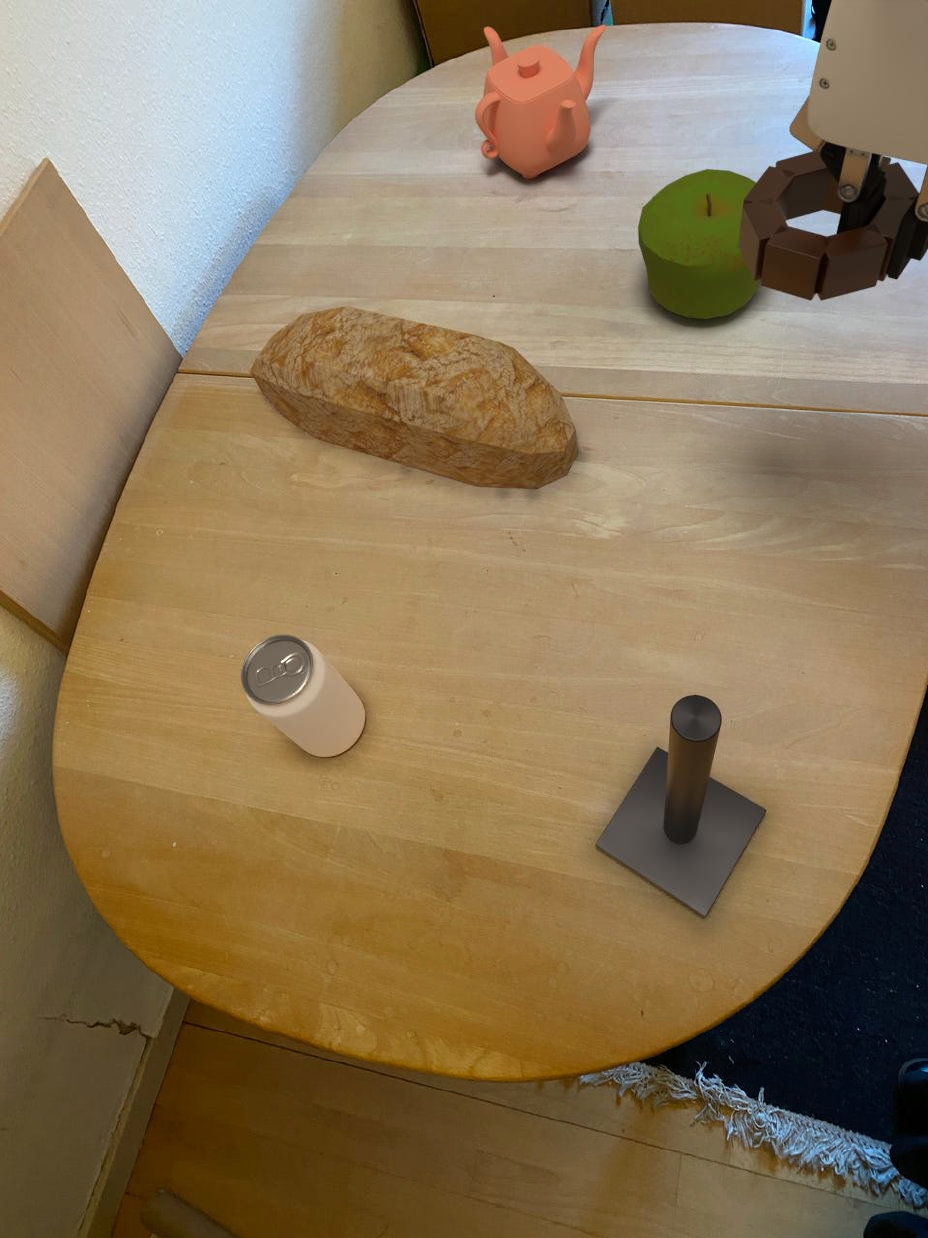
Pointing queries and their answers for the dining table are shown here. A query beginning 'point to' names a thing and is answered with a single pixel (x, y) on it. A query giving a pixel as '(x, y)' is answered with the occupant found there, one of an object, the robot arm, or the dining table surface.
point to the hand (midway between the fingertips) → (878, 253)
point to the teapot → (535, 105)
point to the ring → (814, 258)
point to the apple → (697, 244)
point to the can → (302, 695)
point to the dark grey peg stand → (683, 814)
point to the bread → (419, 397)
